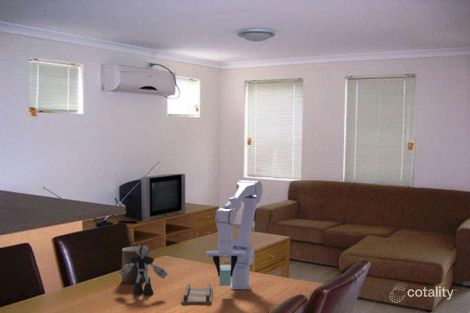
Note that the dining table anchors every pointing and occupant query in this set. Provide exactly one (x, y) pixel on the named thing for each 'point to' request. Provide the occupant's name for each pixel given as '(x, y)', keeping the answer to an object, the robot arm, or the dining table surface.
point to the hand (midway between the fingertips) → (225, 275)
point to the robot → (143, 270)
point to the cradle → (197, 295)
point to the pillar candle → (126, 259)
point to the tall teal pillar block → (225, 275)
